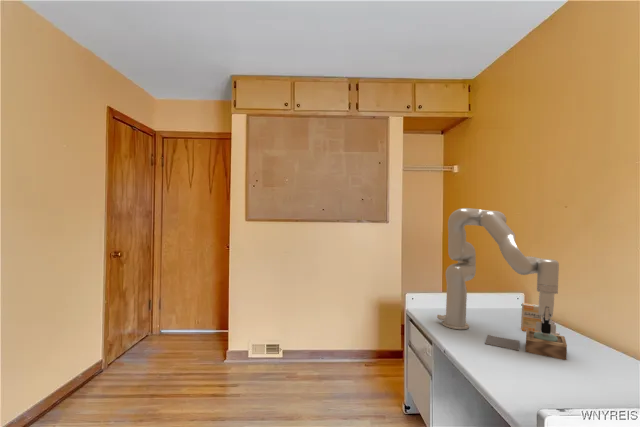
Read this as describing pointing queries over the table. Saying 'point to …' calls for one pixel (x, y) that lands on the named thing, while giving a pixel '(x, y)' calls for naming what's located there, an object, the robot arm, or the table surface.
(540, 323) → the cover
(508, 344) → the mat
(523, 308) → the supplement box
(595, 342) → the table surface
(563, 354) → the tray
